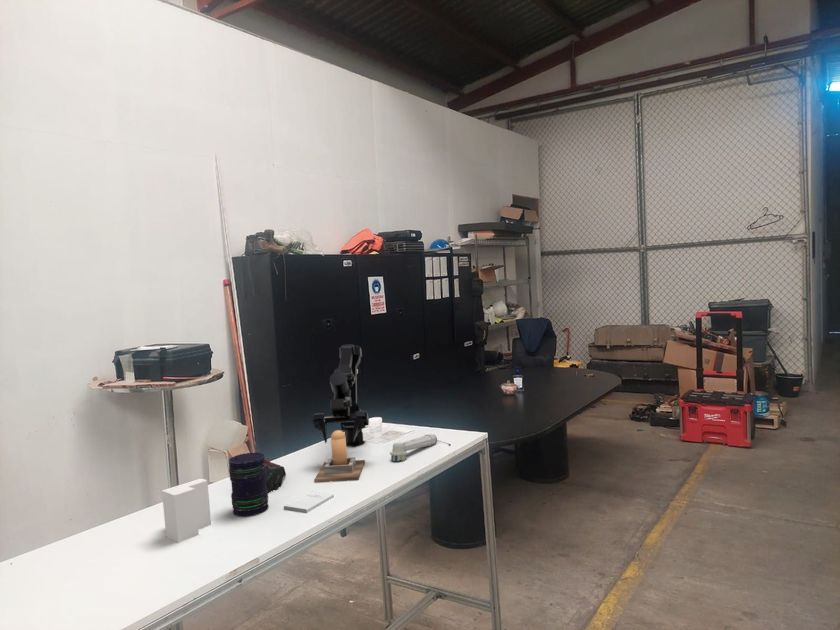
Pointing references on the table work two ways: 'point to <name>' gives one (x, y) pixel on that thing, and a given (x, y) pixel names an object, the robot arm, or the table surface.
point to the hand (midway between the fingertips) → (339, 441)
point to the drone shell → (274, 475)
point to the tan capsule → (339, 448)
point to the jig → (340, 471)
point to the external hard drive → (308, 502)
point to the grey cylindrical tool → (411, 446)
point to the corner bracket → (186, 509)
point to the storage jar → (248, 484)
